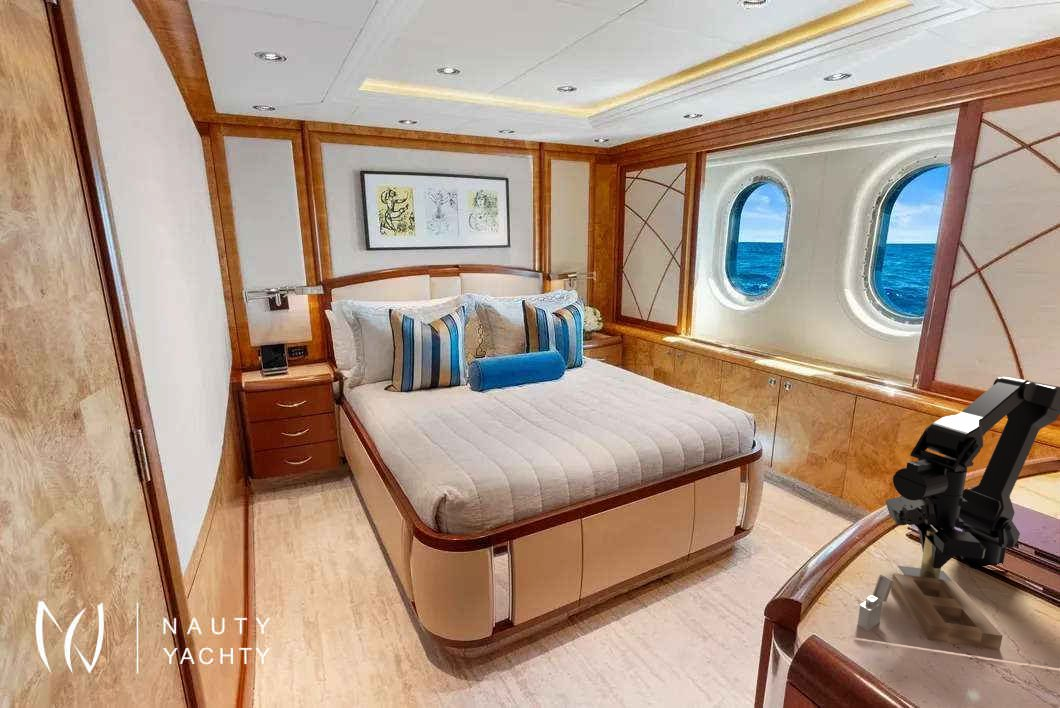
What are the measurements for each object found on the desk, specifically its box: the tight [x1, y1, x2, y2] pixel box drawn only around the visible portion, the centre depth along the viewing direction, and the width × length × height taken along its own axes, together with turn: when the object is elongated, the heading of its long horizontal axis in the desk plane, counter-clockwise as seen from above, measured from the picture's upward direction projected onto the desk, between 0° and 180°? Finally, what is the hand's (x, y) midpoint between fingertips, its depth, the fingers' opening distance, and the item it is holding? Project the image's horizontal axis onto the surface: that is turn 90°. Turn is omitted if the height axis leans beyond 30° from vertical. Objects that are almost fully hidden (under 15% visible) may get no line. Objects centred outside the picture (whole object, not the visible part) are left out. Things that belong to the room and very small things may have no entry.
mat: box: [897, 565, 953, 581], centre depth 99 cm, size 8×7×1 cm
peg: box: [920, 529, 942, 579], centre depth 98 cm, size 3×3×10 cm
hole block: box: [891, 573, 1003, 651], centre depth 89 cm, size 10×14×3 cm
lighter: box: [857, 574, 893, 632], centre depth 87 cm, size 7×2×8 cm, turn 121°
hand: (931, 562), depth 98 cm, fingers closed on peg, 3 cm apart
